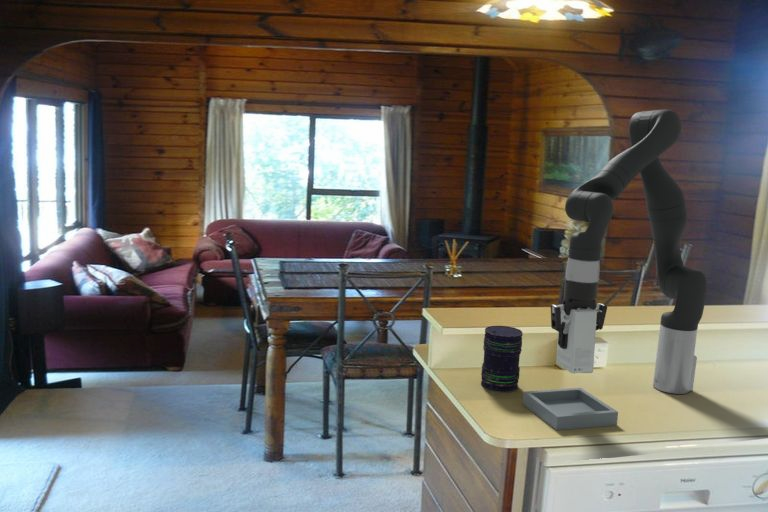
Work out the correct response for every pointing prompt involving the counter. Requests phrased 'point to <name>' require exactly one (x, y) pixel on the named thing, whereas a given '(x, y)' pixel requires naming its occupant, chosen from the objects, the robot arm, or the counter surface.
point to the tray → (569, 408)
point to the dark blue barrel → (501, 358)
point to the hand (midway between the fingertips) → (575, 347)
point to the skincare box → (579, 342)
